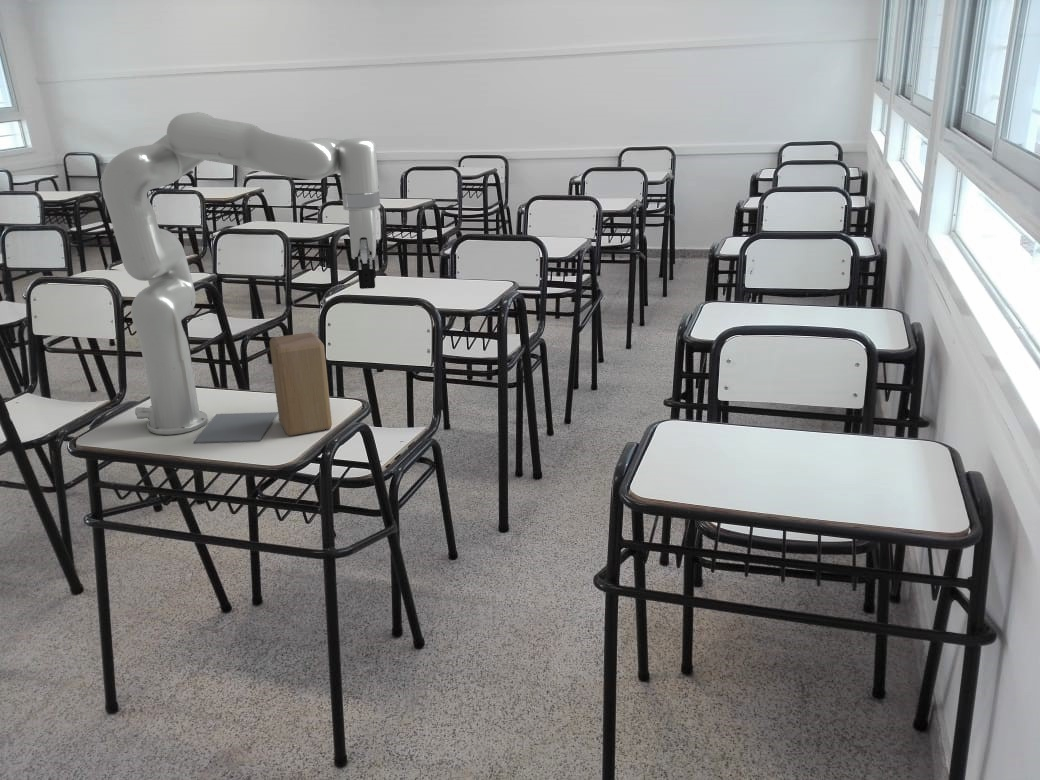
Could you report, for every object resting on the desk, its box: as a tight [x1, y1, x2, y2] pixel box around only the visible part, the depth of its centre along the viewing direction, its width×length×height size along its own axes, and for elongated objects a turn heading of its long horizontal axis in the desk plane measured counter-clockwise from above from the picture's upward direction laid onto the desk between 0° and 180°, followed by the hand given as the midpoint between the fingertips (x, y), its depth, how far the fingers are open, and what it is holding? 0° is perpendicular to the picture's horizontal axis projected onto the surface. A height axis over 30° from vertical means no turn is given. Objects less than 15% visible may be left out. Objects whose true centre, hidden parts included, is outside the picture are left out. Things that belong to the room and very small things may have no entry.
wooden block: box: [269, 331, 333, 437], centre depth 183 cm, size 10×10×20 cm
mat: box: [193, 411, 279, 444], centre depth 186 cm, size 14×16×1 cm
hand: (368, 283), depth 179 cm, fingers open, 9 cm apart
